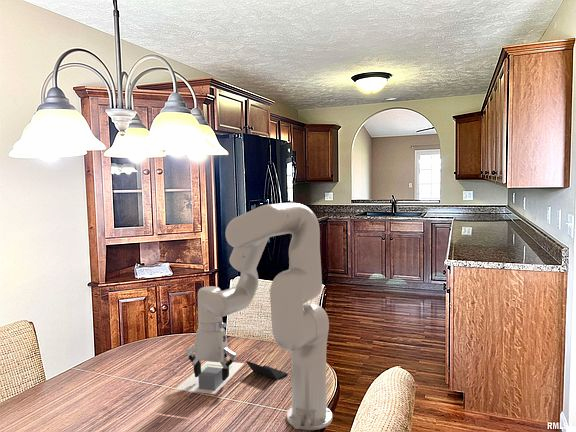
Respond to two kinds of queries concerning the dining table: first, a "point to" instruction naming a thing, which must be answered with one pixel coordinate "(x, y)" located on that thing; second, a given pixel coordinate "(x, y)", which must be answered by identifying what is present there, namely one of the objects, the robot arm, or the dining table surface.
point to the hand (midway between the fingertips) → (211, 377)
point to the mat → (193, 381)
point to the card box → (210, 378)
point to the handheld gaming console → (267, 371)
